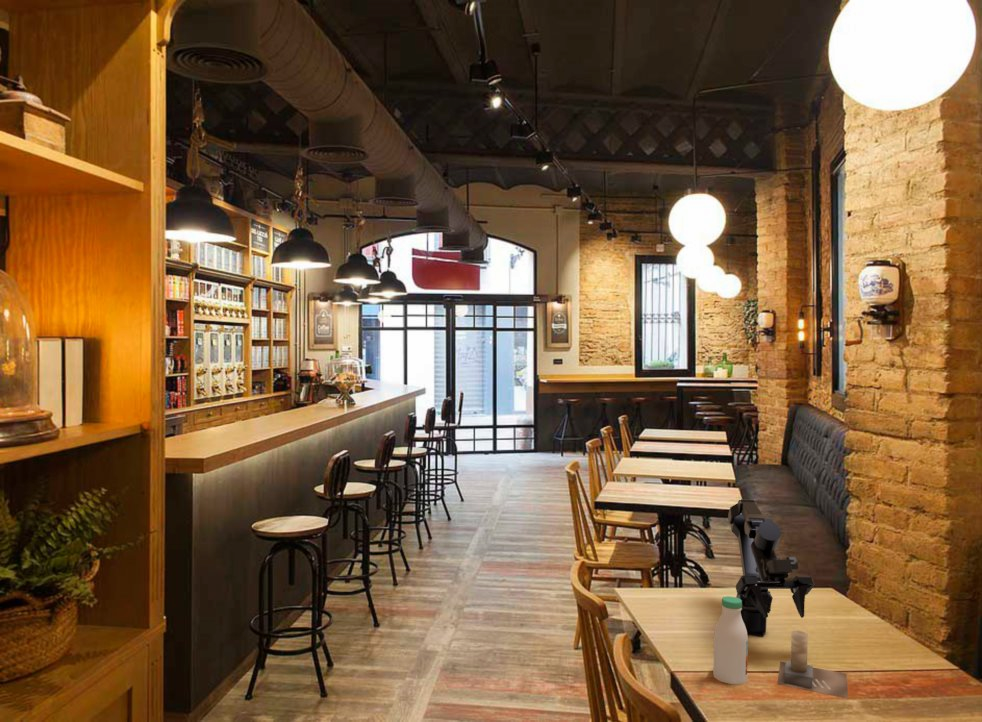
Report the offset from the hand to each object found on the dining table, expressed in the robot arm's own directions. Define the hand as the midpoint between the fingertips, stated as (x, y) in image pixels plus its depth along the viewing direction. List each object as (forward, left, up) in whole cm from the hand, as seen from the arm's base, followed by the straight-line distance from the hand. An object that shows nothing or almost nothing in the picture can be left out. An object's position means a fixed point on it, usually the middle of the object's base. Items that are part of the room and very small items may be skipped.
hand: (784, 617), depth 179 cm
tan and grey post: (+4, -7, -12) cm, 14 cm away
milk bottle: (-11, -13, -14) cm, 22 cm away
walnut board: (+7, -5, -13) cm, 16 cm away
